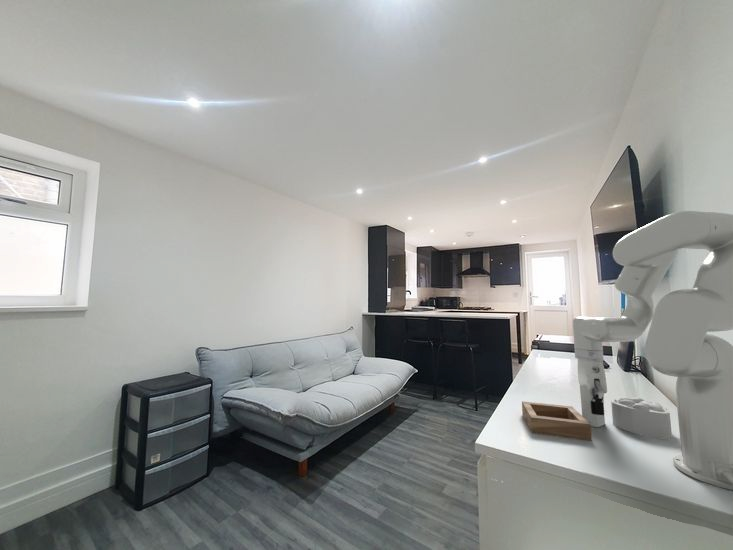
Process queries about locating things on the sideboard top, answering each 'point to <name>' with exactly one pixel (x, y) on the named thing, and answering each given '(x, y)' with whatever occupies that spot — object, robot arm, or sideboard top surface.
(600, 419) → the skincare box
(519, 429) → the sideboard top surface
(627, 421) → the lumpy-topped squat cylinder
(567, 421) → the square wooden tray
